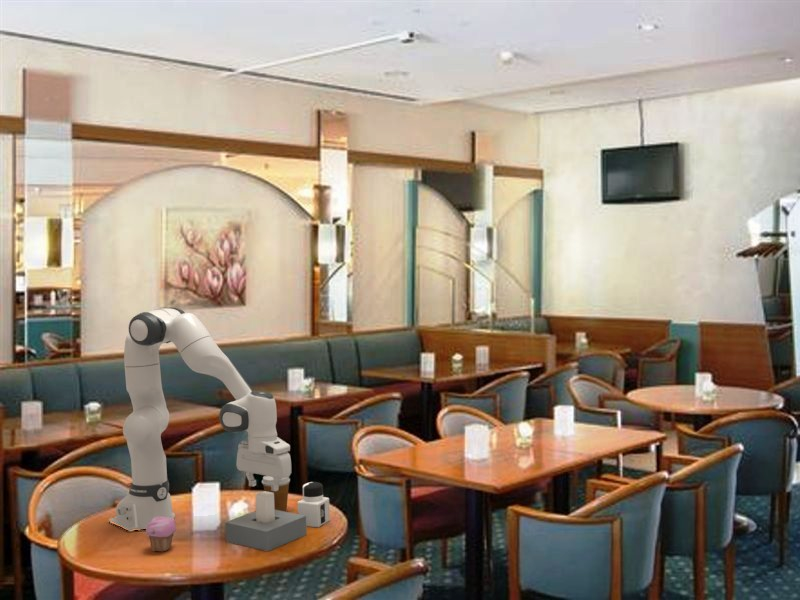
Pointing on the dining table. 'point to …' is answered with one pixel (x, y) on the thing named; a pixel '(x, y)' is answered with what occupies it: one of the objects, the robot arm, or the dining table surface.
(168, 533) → the cupcake
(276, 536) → the well block
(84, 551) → the dining table surface
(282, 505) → the disposable coffee cup
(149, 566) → the dining table surface
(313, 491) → the container
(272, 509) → the peg
